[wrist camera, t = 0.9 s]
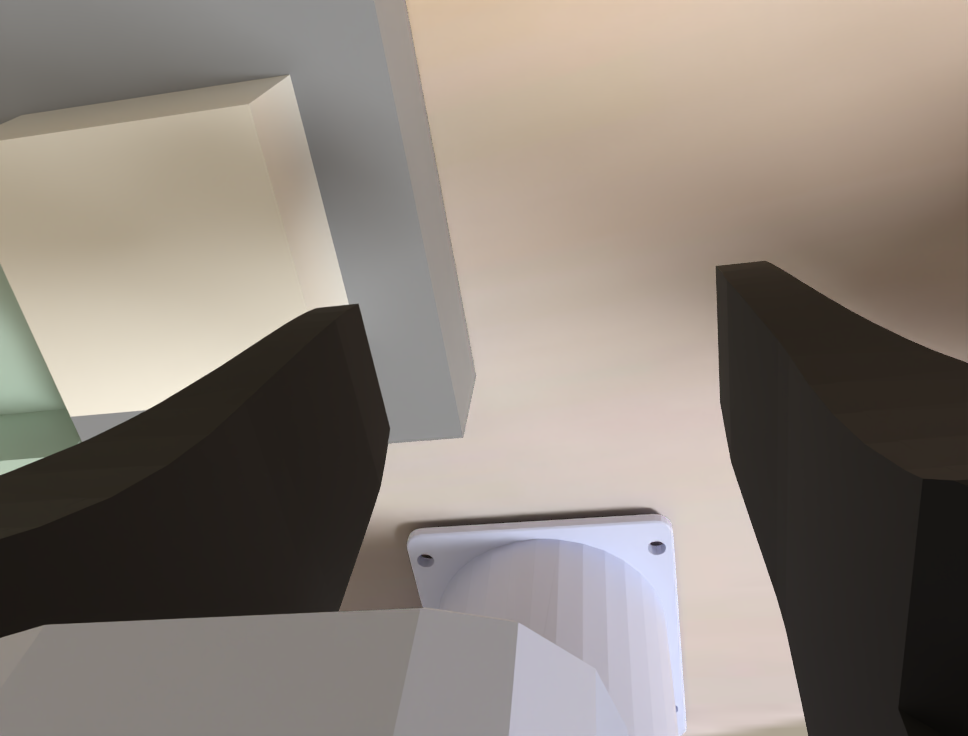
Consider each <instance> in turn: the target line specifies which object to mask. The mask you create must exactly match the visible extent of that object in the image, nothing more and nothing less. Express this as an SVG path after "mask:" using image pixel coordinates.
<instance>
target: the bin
mask: <svg viewBox="0 0 968 736" xmlns="http://www.w3.org/2000/svg"><path fill="white" fill-rule="evenodd" d="M81 442H82V441H81V439H80V436H79V434H78V432H77V430H76V428H75V426H74V423H73V421H72V419H71V417H70V415H69V412H68V410H67V408H66V406H65V404H64V402H63V399H62V397H61V395H60V393H59V391H58V388H57V386H56V384H55V382H54V380H53V378H52V375H51V373H50V371H49V369H48V367H47V364H46V362H45V360H44V358H43V356H42V354H41V351H40V349H39V347H38V345H37V343H36V340H35V338H34V336H33V334H32V332H31V330H30V327H29V325H28V323H27V321H26V319H25V316H24V314H23V312H22V310H21V308H20V306H19V303H18V301H17V299H16V297H15V295H14V292H13V290H12V288H11V286H10V284H9V282H8V279H7V277H6V275H5V273H4V271H3V268H2V266H1V264H0V475H2V474H5V473H8V472H10V471H12V470H15V469H17V468H20V467H22V466H25V465H27V464H30V463H32V462H35V461H37V460H40V459H42V458H45V457H47V456H49V455H52V454H54V453H57V452H59V451H62V450H64V449H67V448H69V447H72V446H74V445H77V444H79V443H81Z"/></svg>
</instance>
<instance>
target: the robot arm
mask: <svg viewBox="0 0 968 736" xmlns="http://www.w3.org/2000/svg"><path fill="white" fill-rule="evenodd" d="M716 286H717V318H718V349H719V381H720V404H721V409H722V415H723V420H724V426H725V432H726V437H727V442H728V447H729V453H730V458H731V463H732V466H733V469H734V472H735V475H736V478H737V481H738V484H739V487H740V490H741V493H742V496H743V499H744V502H745V505H746V508H747V511H748V514H749V517H750V520H751V523H752V526H753V529H754V532H755V535H756V538H757V541H758V544H759V546H760V549H761V552H762V555H763V558H764V561H765V564H766V567H767V570H768V573H769V576H770V579H771V582H772V585H773V588H774V591H775V594H776V596H777V600H778V603H779V607H780V611H781V614H782V618H783V621H784V625H785V628H786V633H787V637H788V642H789V646H790V651H791V656H792V660H793V665H794V670H795V674H796V679H797V683H798V688H799V693H800V697H801V702H802V707H803V712H804V717H805V722H806V726H807V731H808V736H968V363H966V362H963V361H961V360H958V359H955V358H953V357H950V356H947V355H944V354H942V353H939V352H936V351H934V350H931V349H929V348H926V347H924V346H922V345H919V344H917V343H915V342H912V341H910V340H908V339H906V338H904V337H902V336H900V335H897V334H895V333H893V332H891V331H889V330H887V329H885V328H883V327H881V326H879V325H877V324H875V323H873V322H871V321H869V320H867V319H865V318H863V317H861V316H859V315H858V314H856V313H854V312H852V311H850V310H848V309H847V308H845V307H843V306H841V305H840V304H838V303H836V302H834V301H833V300H831V299H829V298H828V297H826V296H824V295H823V294H821V293H819V292H818V291H816V290H814V289H813V288H811V287H809V286H808V285H806V284H805V283H803V282H801V281H800V280H798V279H797V278H795V277H793V276H792V275H790V274H788V273H787V272H785V271H784V270H782V269H780V268H778V267H777V266H775V265H773V264H771V263H769V262H767V261H760V262H751V263H741V264H732V265H722V266H716ZM389 434H390V425H389V421H388V417H387V413H386V409H385V406H384V402H383V398H382V394H381V390H380V386H379V382H378V378H377V374H376V370H375V366H374V362H373V358H372V354H371V350H370V346H369V343H368V339H367V335H366V331H365V327H364V323H363V319H362V315H361V311H360V307H359V304H349V305H340V306H330V307H321V308H315V309H313V310H310V311H308V312H306V313H304V314H302V315H300V316H298V317H296V318H294V319H293V320H291V321H289V322H288V323H286V324H284V325H283V326H281V327H280V328H278V329H276V330H275V331H273V332H272V333H270V334H269V335H267V336H266V337H264V338H263V339H261V340H260V341H258V342H257V343H255V344H253V345H252V346H250V347H249V348H247V349H246V350H244V351H243V352H241V353H240V354H238V355H237V356H235V357H234V358H232V359H231V360H229V361H228V362H226V363H224V364H223V365H221V366H220V367H218V368H217V369H215V370H213V371H212V372H210V373H208V374H207V375H205V376H204V377H202V378H200V379H199V380H197V381H195V382H194V383H192V384H190V385H189V386H187V387H185V388H184V389H182V390H180V391H179V392H177V393H175V394H174V395H172V396H170V397H169V398H167V399H166V400H164V401H162V402H160V403H159V404H157V405H155V406H153V407H151V408H150V409H148V410H146V411H144V412H142V413H140V414H138V415H137V416H135V417H133V418H131V419H129V420H127V421H125V422H123V423H121V424H119V425H117V426H115V427H113V428H111V429H109V430H106V431H104V432H102V433H100V434H98V435H96V436H94V437H92V438H90V439H88V440H85V441H83V442H81V443H79V444H77V445H74V446H72V447H69V448H67V449H64V450H62V451H59V452H57V453H54V454H52V455H49V456H47V457H45V458H42V459H40V460H37V461H35V462H32V463H30V464H27V465H25V466H22V467H20V468H17V469H15V470H12V471H10V472H8V473H5V474H2V475H0V736H681V735H683V734H684V733H685V732H686V728H687V726H686V712H685V697H684V683H683V669H682V654H681V640H680V625H679V611H678V596H677V582H676V568H675V553H674V539H673V529H672V524H671V521H670V520H669V519H668V518H667V517H665V516H663V515H660V514H644V515H628V516H611V517H595V518H579V519H562V520H546V521H529V522H513V523H497V524H480V525H464V526H447V527H431V528H419V529H415V530H414V531H412V532H411V533H410V535H409V537H408V541H407V551H408V554H409V558H410V562H411V566H412V570H413V574H414V577H415V581H416V585H417V589H418V593H419V597H420V600H421V604H422V608H408V609H386V610H363V611H341V612H338V611H339V609H340V606H341V603H342V600H343V597H344V594H345V591H346V588H347V585H348V582H349V579H350V576H351V574H352V571H353V568H354V565H355V562H356V559H357V556H358V553H359V550H360V547H361V544H362V541H363V539H364V536H365V533H366V530H367V527H368V524H369V521H370V518H371V515H372V512H373V509H374V506H375V503H376V499H377V496H378V493H379V490H380V487H381V481H382V476H383V471H384V465H385V460H386V453H387V447H388V440H389ZM655 541H659V542H662V543H663V544H661V545H659V546H653V545H650V543H651V542H655ZM423 554H427V555H430V556H431V557H432V558H424V557H422V556H421V555H423Z"/></svg>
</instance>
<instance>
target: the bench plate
mask: <svg viewBox="0 0 968 736" xmlns="http://www.w3.org/2000/svg"><path fill="white" fill-rule="evenodd" d="M284 75H290V77H291V81H292V85H293V89H294V93H295V97H296V101H297V104H298V108H299V112H300V116H301V120H302V124H303V128H304V132H305V135H306V139H307V143H308V147H309V151H310V155H311V159H312V163H313V167H314V170H315V174H316V178H317V182H318V186H319V190H320V194H321V198H322V202H323V205H324V209H325V213H326V217H327V221H328V225H329V229H330V233H331V237H332V240H333V244H334V248H335V252H336V256H337V260H338V264H339V268H340V272H341V275H342V279H343V283H344V287H345V291H346V295H347V299H348V303H349V304H359V307H360V311H361V315H362V319H363V323H364V327H365V331H366V335H367V339H368V343H369V346H370V350H371V354H372V358H373V362H374V366H375V370H376V374H377V378H378V382H379V386H380V390H381V394H382V398H383V402H384V406H385V409H386V413H387V417H388V421H389V425H390V434H389V440H388V443H399V442H412V441H425V440H438V439H451V438H463V436H464V431H465V426H466V421H467V417H468V412H469V407H470V402H471V398H472V393H473V388H474V383H475V378H476V373H475V368H474V363H473V357H472V352H471V347H470V342H469V336H468V331H467V326H466V320H465V315H464V310H463V304H462V299H461V294H460V288H459V283H458V278H457V272H456V267H455V262H454V256H453V251H452V246H451V240H450V235H449V230H448V225H447V219H446V214H445V209H444V203H443V198H442V193H441V187H440V182H439V177H438V171H437V166H436V161H435V155H434V150H433V145H432V139H431V134H430V129H429V123H428V118H427V113H426V108H425V102H424V97H423V92H422V86H421V81H420V76H419V70H418V65H417V60H416V54H415V49H414V44H413V38H412V33H411V28H410V22H409V17H408V12H407V6H406V1H405V0H0V125H1V124H3V123H5V122H7V121H10V120H12V119H14V118H16V117H18V116H21V115H26V114H33V113H39V112H46V111H52V110H59V109H66V108H72V107H79V106H86V105H92V104H99V103H105V102H112V101H119V100H125V99H132V98H138V97H145V96H152V95H158V94H165V93H171V92H178V91H185V90H191V89H198V88H205V87H211V86H218V85H224V84H231V83H238V82H244V81H251V80H257V79H264V78H271V77H277V76H284ZM144 411H146V410H142V411H131V412H119V413H108V414H97V415H85V416H74V417H71V419H72V421H73V423H74V426H75V428H76V430H77V432H78V434H79V436H80V439H81V441H82V442H83V441H85V440H88V439H90V438H92V437H94V436H96V435H98V434H100V433H102V432H104V431H106V430H109V429H111V428H113V427H115V426H117V425H119V424H121V423H123V422H125V421H127V420H129V419H131V418H133V417H135V416H137V415H138V414H140V413H142V412H144Z"/></svg>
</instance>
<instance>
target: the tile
mask: <svg viewBox="0 0 968 736" xmlns="http://www.w3.org/2000/svg"><path fill="white" fill-rule="evenodd" d="M0 264H1V266H2V268H3V271H4V273H5V275H6V277H7V279H8V282H9V284H10V286H11V288H12V290H13V292H14V295H15V297H16V299H17V301H18V303H19V306H20V308H21V310H22V312H23V314H24V316H25V319H26V321H27V323H28V325H29V327H30V330H31V332H32V334H33V336H34V338H35V340H36V343H37V345H38V347H39V349H40V351H41V354H42V356H43V358H44V360H45V362H46V364H47V367H48V369H49V371H50V373H51V375H52V378H53V380H54V382H55V384H56V386H57V388H58V391H59V393H60V395H61V397H62V399H63V402H64V404H65V406H66V408H67V410H68V412H69V415H70V417H74V416H85V415H97V414H108V413H119V412H131V411H142V410H148V409H150V408H151V407H153V406H155V405H157V404H159V403H160V402H162V401H164V400H166V399H167V398H169V397H170V396H172V395H174V394H175V393H177V392H179V391H180V390H182V389H184V388H185V387H187V386H189V385H190V384H192V383H194V382H195V381H197V380H199V379H200V378H202V377H204V376H205V375H207V374H208V373H210V372H212V371H213V370H215V369H217V368H218V367H220V366H221V365H223V364H224V363H226V362H228V361H229V360H231V359H232V358H234V357H235V356H237V355H238V354H240V353H241V352H243V351H244V350H246V349H247V348H249V347H250V346H252V345H253V344H255V343H257V342H258V341H260V340H261V339H263V338H264V337H266V336H267V335H269V334H270V333H272V332H273V331H275V330H276V329H278V328H280V327H281V326H283V325H284V324H286V323H288V322H289V321H291V320H293V319H294V318H296V317H298V316H300V315H302V314H304V313H306V312H308V311H310V310H313V309H315V308H321V307H330V306H340V305H349V303H348V299H347V295H346V291H345V287H344V283H343V279H342V275H341V272H340V268H339V264H338V260H337V256H336V252H335V248H334V244H333V240H332V237H331V233H330V229H329V225H328V221H327V217H326V213H325V209H324V205H323V202H322V198H321V194H320V190H319V186H318V182H317V178H316V174H315V170H314V167H313V163H312V159H311V155H310V151H309V147H308V143H307V139H306V135H305V132H304V128H303V124H302V120H301V116H300V112H299V108H298V104H297V101H296V97H295V93H294V89H293V85H292V81H291V77H290V75H284V76H277V77H271V78H264V79H257V80H251V81H244V82H238V83H231V84H224V85H218V86H211V87H205V88H198V89H191V90H185V91H178V92H171V93H165V94H158V95H152V96H145V97H138V98H132V99H125V100H119V101H112V102H105V103H99V104H92V105H86V106H79V107H72V108H66V109H59V110H52V111H46V112H39V113H33V114H26V115H21V116H18V117H16V118H14V119H12V120H10V121H7V122H5V123H3V124H1V125H0Z"/></svg>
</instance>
